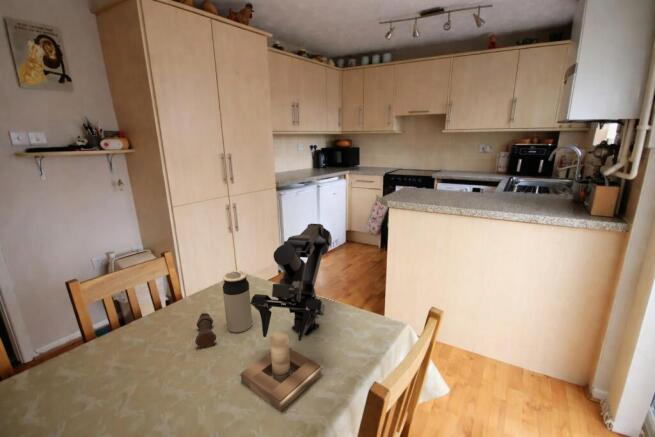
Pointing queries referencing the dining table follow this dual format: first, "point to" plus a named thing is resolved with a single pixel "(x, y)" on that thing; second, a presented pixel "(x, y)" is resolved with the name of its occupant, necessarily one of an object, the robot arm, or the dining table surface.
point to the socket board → (288, 389)
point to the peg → (280, 356)
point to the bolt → (205, 332)
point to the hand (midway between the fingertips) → (281, 339)
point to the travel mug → (237, 301)
